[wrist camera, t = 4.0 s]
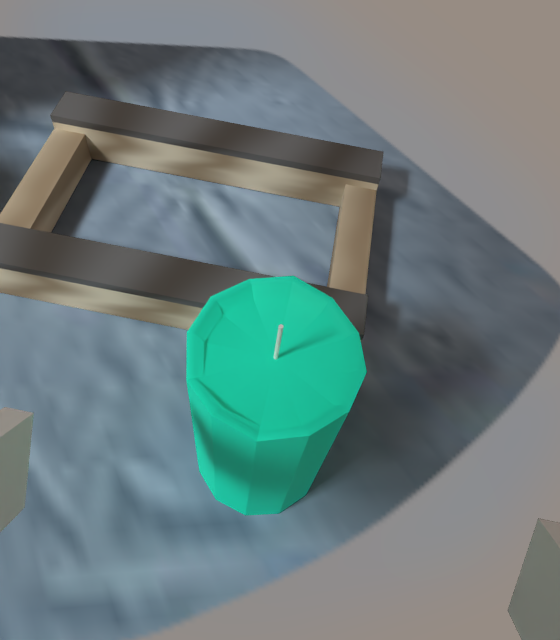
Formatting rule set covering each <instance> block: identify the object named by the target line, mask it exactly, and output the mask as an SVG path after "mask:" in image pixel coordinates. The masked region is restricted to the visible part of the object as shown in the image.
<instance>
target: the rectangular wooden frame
mask: <svg viewBox="0 0 560 640" xmlns="http://www.w3.org/2000/svg"><path fill="white" fill-rule="evenodd" d="M50 116H51V119H52V122H53V125H54V128H55V129H54V130H53V132H52V133H51V135H50V136H49V138H48V140H47V141H46V143H45V144H44V146H43V147H42V149H41V151H40V152H39V154H38V155H37V157H36V158H35V160H34V162H33V163H32V165H31V166H30V168H29V169H28V171H27V173H26V174H25V176H24V177H23V179H22V181H21V182H20V184H19V185H18V187H17V188H16V190H15V192H14V193H13V195H12V196H11V198H10V199H9V201H8V203H7V204H6V206H5V207H4V209H3V210H2V212H1V214H0V293H5V294H10V295H15V296H20V297H25V298H30V299H35V300H40V301H45V302H50V303H55V304H60V305H65V306H70V307H75V308H80V309H85V310H91V311H96V312H101V313H106V314H111V315H116V316H121V317H126V318H131V319H136V320H141V321H146V322H151V323H156V324H161V325H166V326H171V327H176V328H181V329H186V330H189V328H190V327H191V325H192V324H193V322H194V321H195V319H196V318H197V316H198V315H199V313H200V312H201V310H202V309H203V307H204V306H205V304H206V303H207V301H208V300H209V298H210V297H211V296H213V295H215V294H217V293H219V292H222V291H224V290H226V289H228V288H230V287H233V286H235V285H237V284H239V283H241V282H244V281H246V280H248V279H255V278H269V277H274V276H269V275H264V274H259V273H253V272H248V271H243V270H238V269H233V268H228V267H223V266H218V265H213V264H208V263H202V262H197V261H192V260H187V259H182V258H177V257H172V256H167V255H162V254H157V253H151V252H146V251H141V250H136V249H131V248H126V247H121V246H116V245H111V244H106V243H100V242H95V241H90V240H85V239H80V238H75V237H70V236H65V235H60V234H55V233H51V232H52V230H53V228H54V226H55V224H56V223H57V221H58V219H59V217H60V215H61V213H62V212H63V210H64V208H65V206H66V204H67V203H68V201H69V199H70V197H71V195H72V193H73V192H74V190H75V188H76V186H77V184H78V183H79V181H80V179H81V177H82V175H83V173H84V172H85V170H86V168H87V166H88V164H89V162H90V161H91V159H95V160H101V161H106V162H111V163H116V164H121V165H127V166H132V167H137V168H142V169H147V170H152V171H158V172H163V173H168V174H173V175H178V176H184V177H189V178H194V179H199V180H204V181H209V182H215V183H220V184H225V185H230V186H235V187H241V188H246V189H251V190H256V191H261V192H266V193H272V194H277V195H282V196H287V197H292V198H298V199H303V200H308V201H313V202H318V203H323V204H329V205H334V206H339V207H340V209H339V215H338V221H337V227H336V234H335V240H334V246H333V252H332V259H331V265H330V271H329V278H328V284H327V287H325V286H320V285H315V284H310V283H307V284H309V285H311V286H312V287H314V288H316V289H318V290H319V291H321V292H323V293H325V294H327V295H328V296H330V297H332V298H333V299H334V300H335V302H336V303H337V304H338V306H339V307H340V308H341V310H342V311H343V312H344V314H345V315H346V316H347V318H348V319H349V320H350V322H351V323H352V324H353V326H354V327H355V328H356V330H357V331H358V332H359V336H360V341H361V340H362V338H363V336H364V329H365V320H366V310H367V301H368V295H366V294H365V291H366V282H367V273H368V264H369V255H370V246H371V237H372V227H373V218H374V209H375V200H376V191H377V187H378V184H379V181H380V178H381V169H382V159H383V152H382V151H376V150H371V149H366V148H361V147H355V146H350V145H345V144H340V143H334V142H329V141H324V140H319V139H313V138H308V137H303V136H298V135H292V134H287V133H282V132H277V131H271V130H266V129H261V128H256V127H250V126H245V125H240V124H235V123H229V122H224V121H219V120H214V119H208V118H203V117H198V116H193V115H187V114H182V113H177V112H172V111H166V110H161V109H156V108H151V107H145V106H140V105H135V104H130V103H124V102H119V101H114V100H109V99H104V98H98V97H93V96H88V95H83V94H77V93H72V92H67V91H66V92H65V93H64V95H63V96H62V98H61V99H60V101H59V103H58V104H57V106H56V107H55V109H54V110H53V112H52V113H51V115H50Z"/></svg>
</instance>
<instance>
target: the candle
mask: <svg viewBox="0 0 560 640" xmlns="http://www.w3.org/2000/svg"><path fill="white" fill-rule="evenodd" d="M366 373H367V370H366V365H365V360H364V355H363V350H362V345H361V341H360V336H359V332H358V331H357V330H356V328H355V327H354V326H353V324H352V323H351V322H350V320H349V319H348V318H347V316H346V315H345V314H344V312H343V311H342V310H341V308H340V307H339V306H338V304H337V303H336V302H335V300H334V299H333V298H332V297H330V296H328V295H327V294H325V293H323V292H321V291H319V290H318V289H316V288H314V287H312V286H311V285H309V284H307V283H305V282H304V281H302V280H300V279H298V278H297V277H295V276H284V277H269V278H255V279H248V280H246V281H244V282H241V283H239V284H237V285H235V286H233V287H230V288H228V289H226V290H224V291H222V292H219V293H217V294H215V295H213V296H211V297H210V298H209V300H208V301H207V303H206V304H205V306H204V307H203V309H202V310H201V312H200V313H199V315H198V316H197V318H196V319H195V321H194V322H193V324H192V325H191V327H190V328H189V330H188V331H187V377H186V380H187V387H188V394H189V401H190V408H191V415H192V422H193V429H194V437H195V444H196V451H197V458H198V465H199V472H200V473H201V475H202V477H203V478H204V480H205V482H206V483H207V485H208V487H209V488H210V490H211V492H212V494H213V495H214V497H215V499H216V500H218V501H220V502H222V503H223V504H225V505H227V506H229V507H231V508H233V509H235V510H237V511H238V512H240V513H242V514H244V515H261V514H279V513H280V512H282V511H283V510H285V509H286V508H288V507H289V506H291V505H292V504H294V503H295V502H297V501H298V500H299V499H301V498H302V497H304V496H305V495H306V494H307V492H308V490H309V488H310V486H311V484H312V483H313V481H314V479H315V477H316V475H317V473H318V471H319V469H320V467H321V465H322V463H323V461H324V459H325V457H326V456H327V454H328V452H329V450H330V448H331V446H332V444H333V442H334V440H335V438H336V436H337V434H338V432H339V430H340V429H341V427H342V425H343V423H344V421H345V419H346V417H347V415H348V413H349V411H350V409H351V407H352V404H353V402H354V400H355V398H356V395H357V393H358V391H359V389H360V386H361V384H362V382H363V380H364V377H365V375H366Z"/></svg>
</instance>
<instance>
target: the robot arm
mask: <svg viewBox="0 0 560 640" xmlns="http://www.w3.org/2000/svg"><path fill="white" fill-rule="evenodd" d="M33 414H34V413H31V412H26V411H21V410H16V409H11V408H7V407H4V408H3V409H1V410H0V532H1V531H2V530H3V529H4V528H5V527H6V526H7V525H8V524H9V523H10V522H11V521H12V520H13V519H14V518H15V517H16V516H17V515H18V514H19V513H20V512H21V511H22V510H23V508H24V507H25V497H26V487H27V476H28V466H29V455H30V445H31V435H32V424H33ZM508 612H509V614H510V616H511V618H512V620H513V623H514V625H515V627H516V629H517V631H518V633H519V635H520V637H521V639H522V640H560V523H558V522H553V521H549V520H544V519H538V521H537V524H536V527H535V530H534V533H533V536H532V539H531V542H530V545H529V548H528V551H527V554H526V557H525V560H524V563H523V566H522V569H521V572H520V575H519V578H518V581H517V584H516V587H515V590H514V593H513V596H512V599H511V602H510V605H509V608H508Z"/></svg>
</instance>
